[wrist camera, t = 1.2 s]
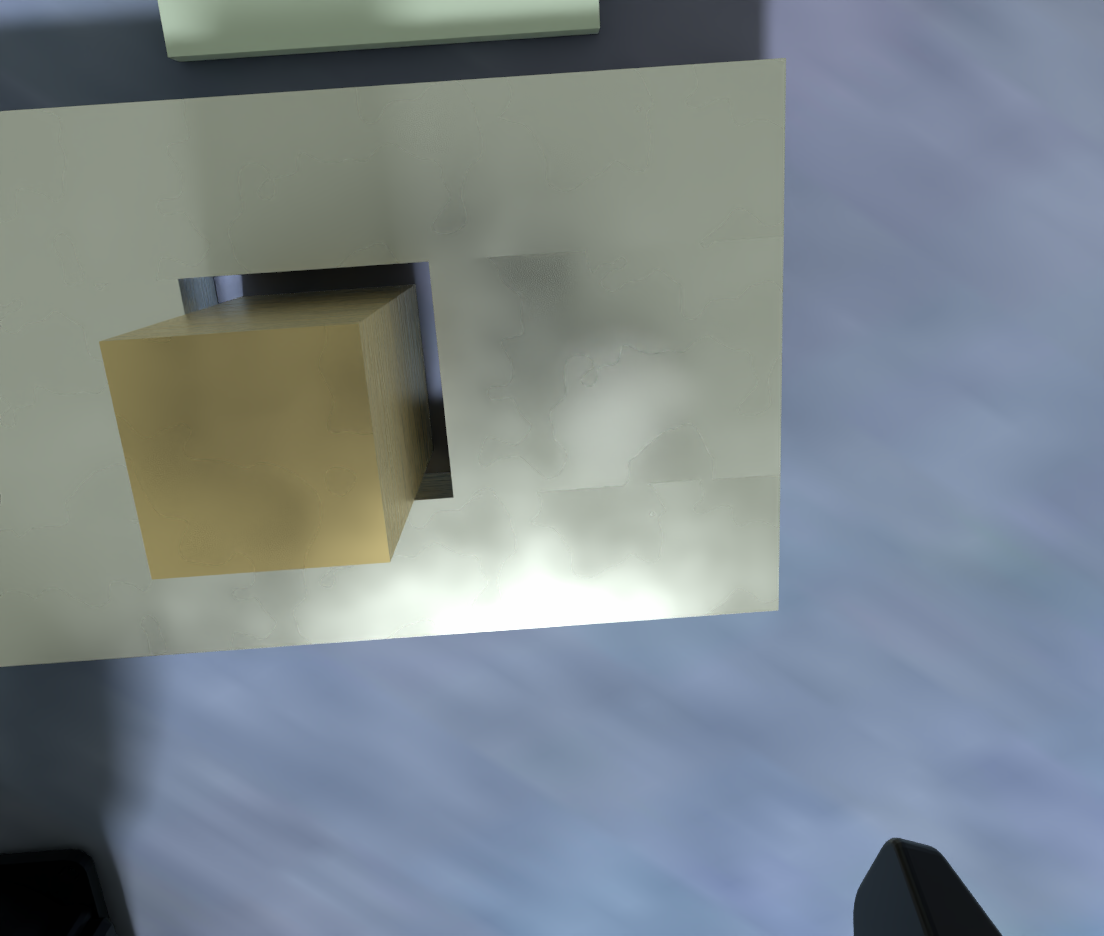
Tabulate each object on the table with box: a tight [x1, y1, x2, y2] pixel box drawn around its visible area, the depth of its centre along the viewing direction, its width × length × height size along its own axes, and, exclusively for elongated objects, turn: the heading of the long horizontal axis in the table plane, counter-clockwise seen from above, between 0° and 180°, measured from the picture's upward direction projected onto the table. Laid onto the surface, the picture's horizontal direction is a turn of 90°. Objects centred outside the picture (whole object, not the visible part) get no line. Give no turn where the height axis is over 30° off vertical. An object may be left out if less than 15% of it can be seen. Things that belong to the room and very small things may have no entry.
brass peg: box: [99, 284, 434, 580], centre depth 17 cm, size 4×4×7 cm
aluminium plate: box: [0, 58, 786, 667], centre depth 19 cm, size 20×12×2 cm, turn 94°
